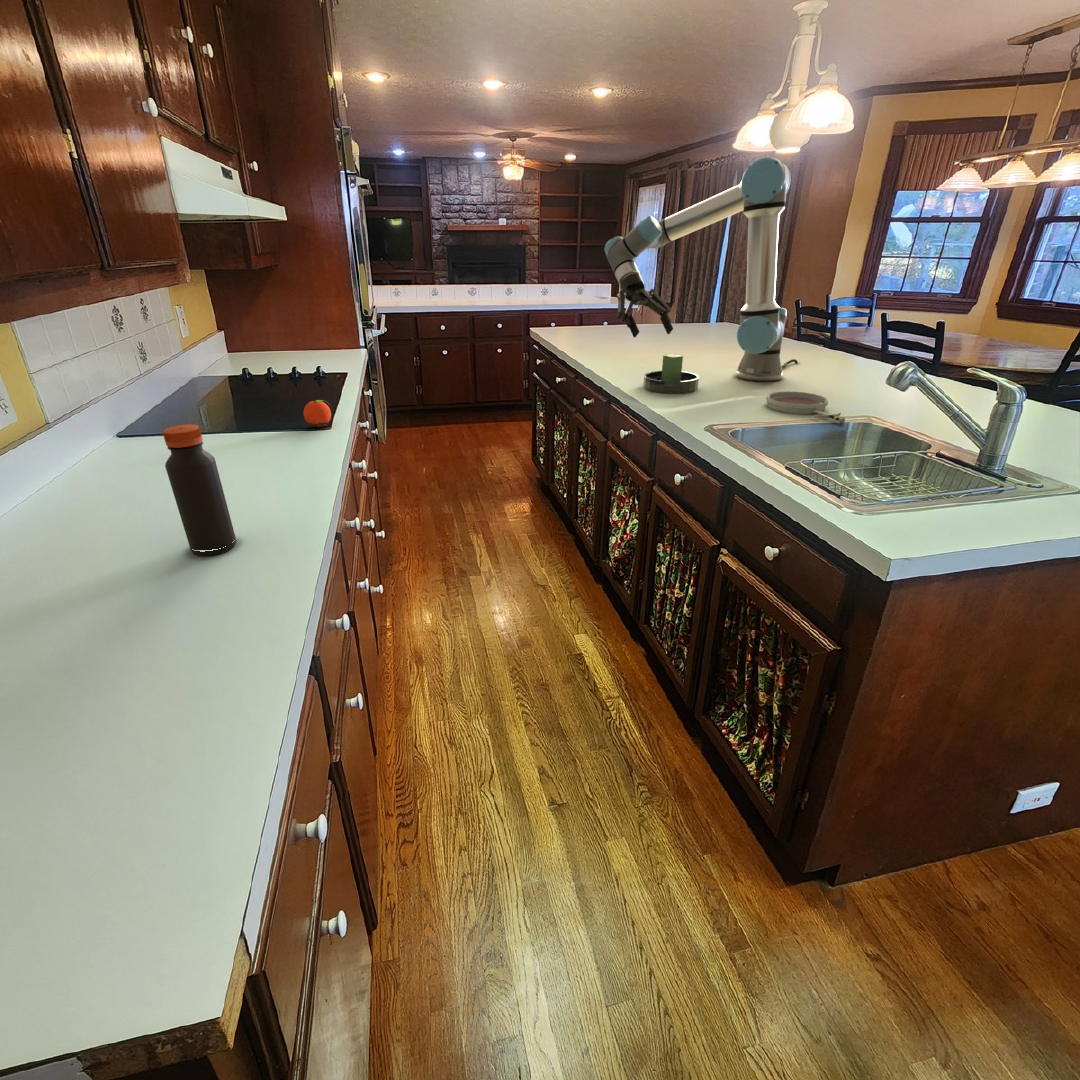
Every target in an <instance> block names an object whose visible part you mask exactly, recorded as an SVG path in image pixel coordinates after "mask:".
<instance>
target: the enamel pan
mask: <svg viewBox="0 0 1080 1080" xmlns="http://www.w3.org/2000/svg"><path fill="white" fill-rule="evenodd" d="M661 377H662V370H654V371H649V372H646V373H644V375H643V385H642V386H643V387H642V388H643V389H645V390H647V391H649V392H653V393H656V394H657V393H658V394H671V395H677V394H679V395H680V394H688V393H689V394H690V393H693V392H696V391H697V390H698V389H699V388H698V387H699V379H700V376H699V375H698V374H697V373H693V372H689V371H683V370H682V372H681V381H661Z"/></svg>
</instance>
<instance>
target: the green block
mask: <svg viewBox="0 0 1080 1080" xmlns="http://www.w3.org/2000/svg"><path fill="white" fill-rule="evenodd" d="M683 359H684V356H683V355H680V354H676V353H671V354H664V355H662V366H661V371H662V377H661V381H681V372H682V371H683Z"/></svg>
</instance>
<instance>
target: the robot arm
mask: <svg viewBox="0 0 1080 1080" xmlns="http://www.w3.org/2000/svg"><path fill="white" fill-rule="evenodd" d="M791 175H792V174H791V172H790V168H789V167H788V166H787V164H786V163H784V162H783V161H781V160H780V159H779V158H777V157H775V156H762V157H759V158H757V159H755V160H754V161H752V162H751V163H750V164H748V166H747V167H746V169H745V171H744V172H743V174H742V178H741V181H740V183H739V184H737V185H735V186H733V187H730V188H728V189H726V190H724V191H722V192H720V193H717V194H715V195H713V196H711V197H709V198H707V199H705V200H702V201H700V202H698V203H695V204H693V205H691V206H689V207H687V208H685V209H682V210H680V211H677V212H676V213H673V214H671V215H670V216H667V217H665V218H663V219H661V220H657V219H656V218H655V217H654V216H653V215H646V217H644V218H643V219H641V220H640V221H639V223H638V224H636V226H634V227H633V228H632V229H631V230H630V231H629V232H628V233H627V234H626V235H625V236H624V237H622V236H614V237H613V238H610V239H609V240H608V241H607V242H606V243H605V246H604V253H605V256H606V259H607V262H608V263H609V265H610V268H611V270H612V272H613V274H614V277H615V279H616V281H617V283H618V285H619V288H620V291H619V292H618V294H617V296H616V298H617V302H618V304H617V319H618V320H621V321H622V322H623V323H625V324H626V327H627V328H628V329H629V330H630V332H631V334H632V337H633V338H637V336H638V335H639V333H640V330H639V327H638V325H637V323H636V320H635V319H634V316H633V315H632V314H631V312H632V308H633V306H644V307H647V308H649V309H650V310H652V311H653V312H654V313H656V314H657V315H658V316H660V317H659V319H660V322H661V323H662V326H663V327H664V330H665V332H666V335H670V334H671V333H672V332H673V330H674V327H673V324H672V320H671V317H670V316H669V314H670V313H671V311H672V308H671V307H670V306H669V305H668V304H667V303H666V301H664V300H663V299H662V297H660V296H659V295H658V294H657V292H656V290H655V289H654V288H651V289H650V290H647V289H646V288H645V287H646V286H645V282H644V279H643V277H642V275H641V274H640V273H641V272H640V271H639V269H638V266H637V265H636V262H635V259H636V258H637V257H639V256H640V255H641V254H642V253H643V252H644V251H645V250H647V249H659V248H662V247H664V246H665V245H666V244H668V243H670V242H671V243H672V242H673V241H675V240H677V239H680V238H683V237H684V236H688V235H689V234H691V233H694V232H696V231H698V230H701V229H704V228H705V227H709V226H710V225H713V224H715V223H717V222H720V221H722V220H724V219H726V218H729V217H731V216H734V215H736V214H738V213H740V212H743V215H744V216H745V217H746V218H747V219H748V221H747V222H748V225H747V226H748V227H747V256H746V279H745V281H746V282H745V283H746V285H745V287H746V288H745V290H746V291H745V304H744V305H743V306H742V308H741V309H740V311H739V313H740V314H739V315H740V316H739V326H738V329H737V332H736V341H737V344H738V345H739V348H740V349H741V350H742V351H744V353H743V356H742V358H741V360H740V362H739V364H738V366H737V369H736V372H735V377H736V378H738V379H741V380H745V381H750V382H751V381H752V382H775V381H780V380H781V379H782V377H783V369H784V368H786V367H787V365H789V364H792V363H794V364H799V362H798V359H793V358H792V359H789V360H787V361H786V362H784V363H783V365H782V359H781V350H782V345H783V339H784V333H785V325H786V320H787V318H788V317H787V313H788V311H787V308H784V307H780V305H778V303H777V302H776V300H775V299H776V283H777V282H776V281H777V263H778V247H779V246H778V244H779V226H780V225H779V224H780V216H781V213H782V212H783V211H784V210H785V209H786V198H787V193H788V191H789V189H790V186H791V182H792V177H791ZM626 300H627V301H628V303H627V306H626V309H625V304H626Z"/></svg>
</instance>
